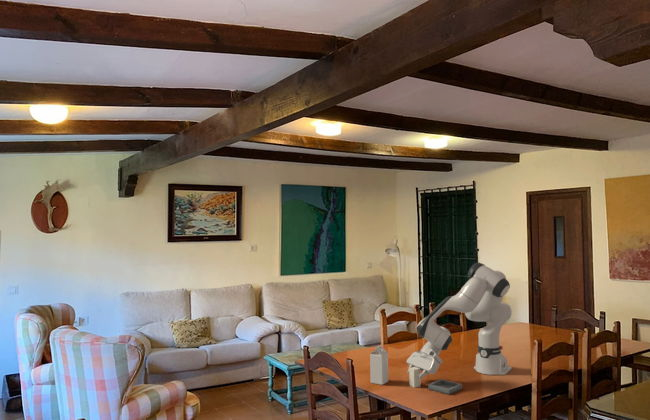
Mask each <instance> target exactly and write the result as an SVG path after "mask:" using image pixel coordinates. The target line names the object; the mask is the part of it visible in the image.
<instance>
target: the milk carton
mask: <svg viewBox="0 0 650 420" xmlns="http://www.w3.org/2000/svg"><path fill="white" fill-rule="evenodd" d="M369 361H370V362H369V366H370V367H369V371H370V374H369V375H370V378H369V379H370V383H371V384H376V385H380V386H381V385H385V384H387V383H388V382H389V353H388V351H387V350H386V349H385V348H384V347H383V344H380V345H378V346H376V347H375V349H374V350H373V351H372V352H371V353H370V354H369Z"/></svg>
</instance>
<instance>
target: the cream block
mask: <svg viewBox="0 0 650 420" xmlns="http://www.w3.org/2000/svg"><path fill="white" fill-rule="evenodd" d="M408 370H409V374H408V375H409V376H408V379H409V382H408V384H409V387H411V388H421V379H420V378H418V375H419V374H421V370H420V368H417V367H411V368H409V367H408Z"/></svg>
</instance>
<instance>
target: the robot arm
mask: <svg viewBox="0 0 650 420" xmlns="http://www.w3.org/2000/svg"><path fill="white" fill-rule="evenodd" d="M467 272H468V273H467V277H468V280H467V281H466V282H465V284H464V285H463V286H461V289H460V290H459V291H458V292H457V293H456V294H455V295H453V296H452V295H451V296H450V295H449V296H447V297H445V298H444V299H443V300H441V302H440V303H439V304H438V305H437V306H436V307H435V308H433V310H431V311H430V313H429V314H427V316H425V317H424V318H423V319H421V320H420V321H419V322H418V324H417V325H416V328H415V329H416V333H417V335H418V336H419V337H421V338H422V339H424V340H426V341H427V342H425V344H424V345H423V346H422V348H421V349H420V350H416V351H414V352H412V353H411V355H410V356H409V357H408V358H407V360H406V364H407V365H408V366H409V367H408V370H407V372H406V373H407V374H408V375H409V368H411V367H417V368H420V374H419V375H418V378H420V380H422V379H423V378H424V377H425V376H427V374H430V375H434V374H436V373H437V371H438V369H440V368H439V367H440V365H442V363H443V362H444V361H443V360H442V359H441V357H440V356H439V355H440V353H441V351H447V349H448V348H449V346H450V344H451V343H452V342H453V337H452V335H451V331H450V330H449V329H448V328H446V327H445V326H440V325H438V324H437V323H436V322H435V320H437V318H438V317H439V316H440V315H441V314H442V313H443V312H444V311H447V310H449V311H455V312H457V313H462V314H463V313H464V315H465V317H466V319H467V320H469V321H472V322H477V323H478V322H479V323H480V322H485V323H486V322H488V323H487V324H486V326H484V327H482V328H481V329H480V330H479V331H478V336H477V337H478V345H477V354H476V355H475V356H476V357H475V365H474V366H473V370H475V371H476V372H478V373H479V374H483V375H489V376H490V375H491V376H497V375H498V376H499V375H500V376H501V375H502V376H505V375H507V374H509V372H511V370H512V369H513V368H512V366H510V365H508V359H507V357H506V356H504V354H503V353H502V350H503V349H504V348H503V345H500V332H501V329H502V328H503V326H504V324H505V323H506V322H507V321H509V320H510V318H512V312H513V311H512V308H511V306H510V304H508V303H507V302H503V299H504V297H505V296H506V295H507V294H508V292H509V290H510V287H511V285H510V282H509V280H508V279H507V277H506V275H505V274H504V273H503V272H502V271H499V270H494V269H492V268H490V267H488V266H486V265H485V264H484V263H481V262H476V263H473V264H472V265H471V267H470V268H469V269H468V271H467Z"/></svg>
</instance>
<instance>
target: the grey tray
mask: <svg viewBox="0 0 650 420" xmlns="http://www.w3.org/2000/svg"><path fill="white" fill-rule="evenodd" d="M427 386H428V387H427V390H429V391H433V392H436V393H440V394H444V395H448V396H450V395H452V394H454V393H457V392H459V391H462V389H463V384H462V383H458V382H455V381H450V380H446V379H442V378H441V379H439V380H436V381H432V382H431V383H428V384H427Z"/></svg>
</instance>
